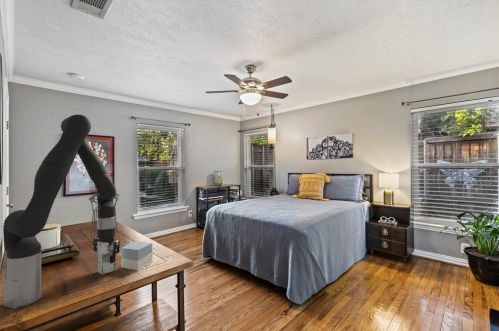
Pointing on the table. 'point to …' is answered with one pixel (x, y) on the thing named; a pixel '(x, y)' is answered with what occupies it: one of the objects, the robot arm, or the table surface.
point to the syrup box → (104, 258)
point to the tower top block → (136, 250)
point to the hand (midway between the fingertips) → (106, 261)
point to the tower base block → (136, 262)
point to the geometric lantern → (96, 213)
